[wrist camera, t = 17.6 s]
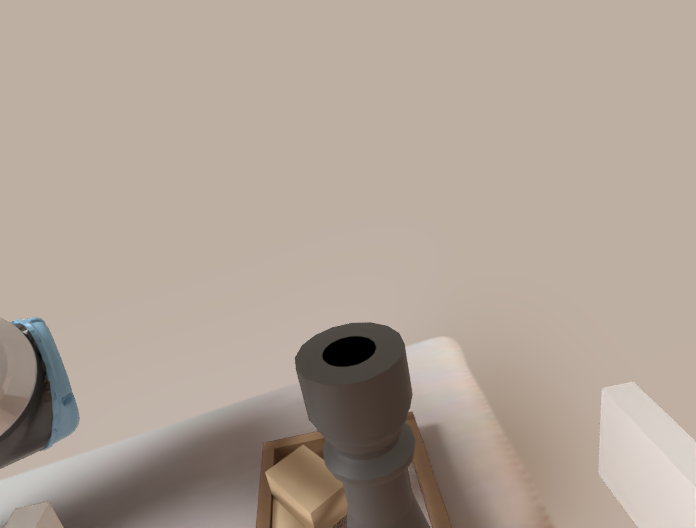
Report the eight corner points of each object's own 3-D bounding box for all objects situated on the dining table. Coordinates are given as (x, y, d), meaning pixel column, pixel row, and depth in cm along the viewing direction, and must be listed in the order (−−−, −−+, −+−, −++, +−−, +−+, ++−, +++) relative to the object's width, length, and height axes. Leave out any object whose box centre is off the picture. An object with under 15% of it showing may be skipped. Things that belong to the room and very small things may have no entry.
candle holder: (353, 684, 34) (265, 379, 25) (387, 597, 39) (324, 316, 30) (443, 724, 31) (382, 397, 22) (466, 625, 36) (425, 323, 27)
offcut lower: (279, 573, 43) (271, 548, 42) (280, 499, 50) (273, 476, 49) (336, 559, 43) (330, 535, 42) (329, 487, 50) (323, 465, 49)
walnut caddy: (260, 608, 40) (251, 582, 39) (269, 464, 54) (263, 442, 53) (459, 564, 40) (455, 538, 39) (415, 433, 55) (412, 411, 54)
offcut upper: (317, 540, 42) (310, 513, 40) (272, 496, 47) (264, 472, 46) (356, 505, 44) (350, 480, 43) (309, 468, 49) (303, 444, 48)
